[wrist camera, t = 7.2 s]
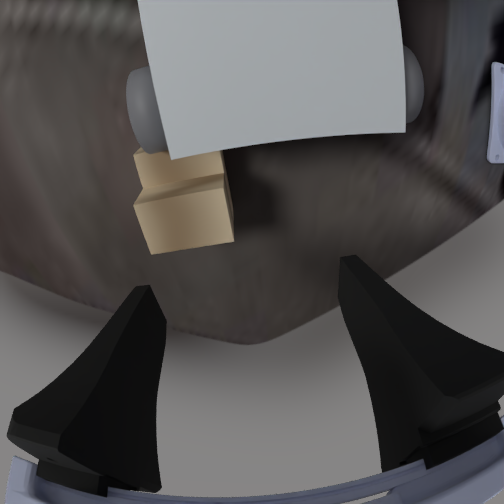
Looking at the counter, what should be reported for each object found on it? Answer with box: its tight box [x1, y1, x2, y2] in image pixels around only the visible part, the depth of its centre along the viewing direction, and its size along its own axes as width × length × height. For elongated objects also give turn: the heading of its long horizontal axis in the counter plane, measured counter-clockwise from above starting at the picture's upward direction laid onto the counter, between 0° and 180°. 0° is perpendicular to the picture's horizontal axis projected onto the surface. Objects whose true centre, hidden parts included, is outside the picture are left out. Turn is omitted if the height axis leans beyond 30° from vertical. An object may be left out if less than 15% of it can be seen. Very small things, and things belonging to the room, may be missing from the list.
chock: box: [133, 147, 234, 255], centre depth 16 cm, size 4×5×4 cm
